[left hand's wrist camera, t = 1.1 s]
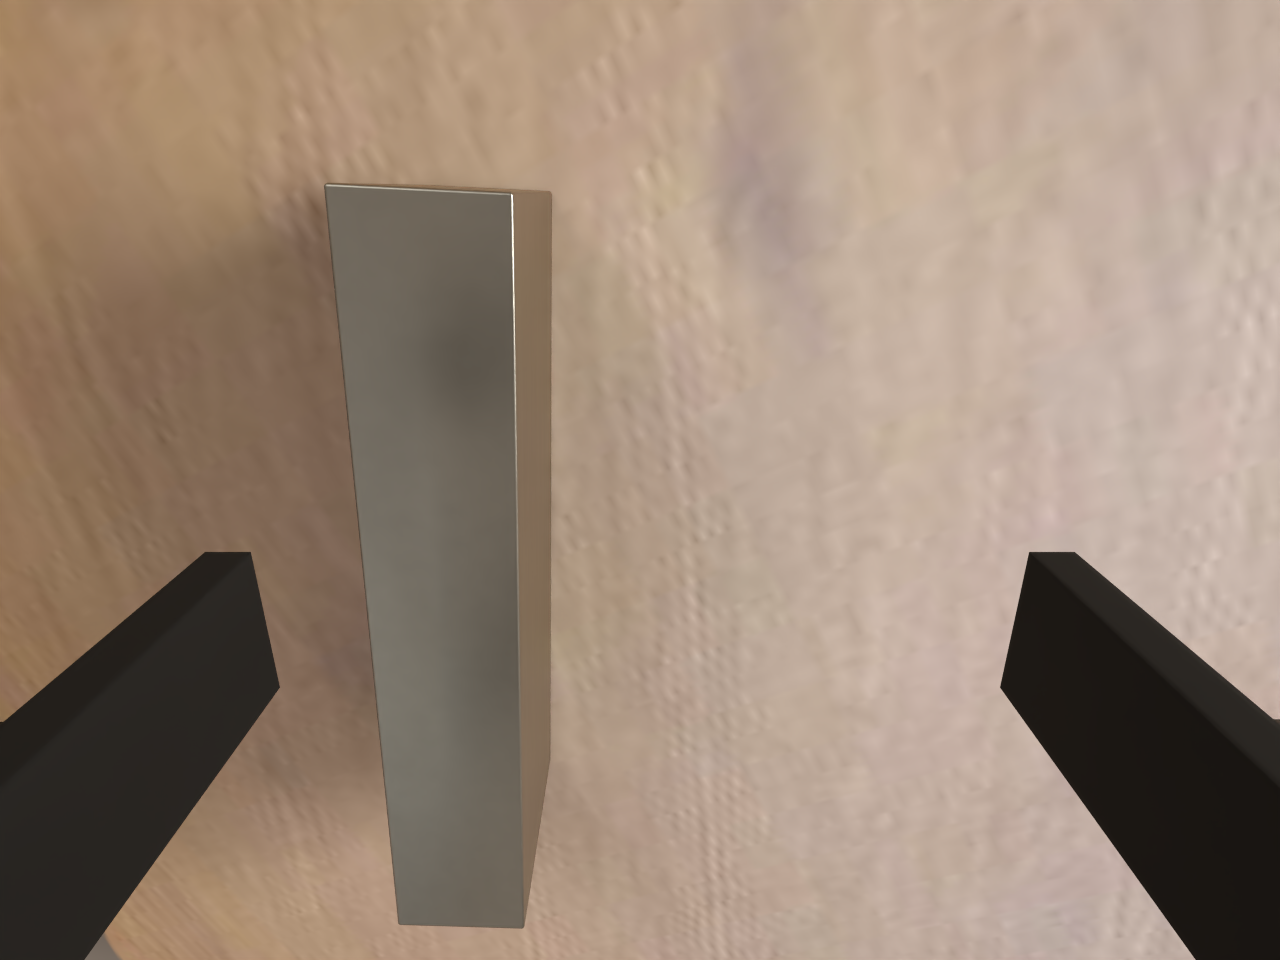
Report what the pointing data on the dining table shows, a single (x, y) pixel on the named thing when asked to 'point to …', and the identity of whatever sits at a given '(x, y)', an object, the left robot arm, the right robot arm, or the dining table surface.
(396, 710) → the bar
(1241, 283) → the dining table surface
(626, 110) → the dining table surface
